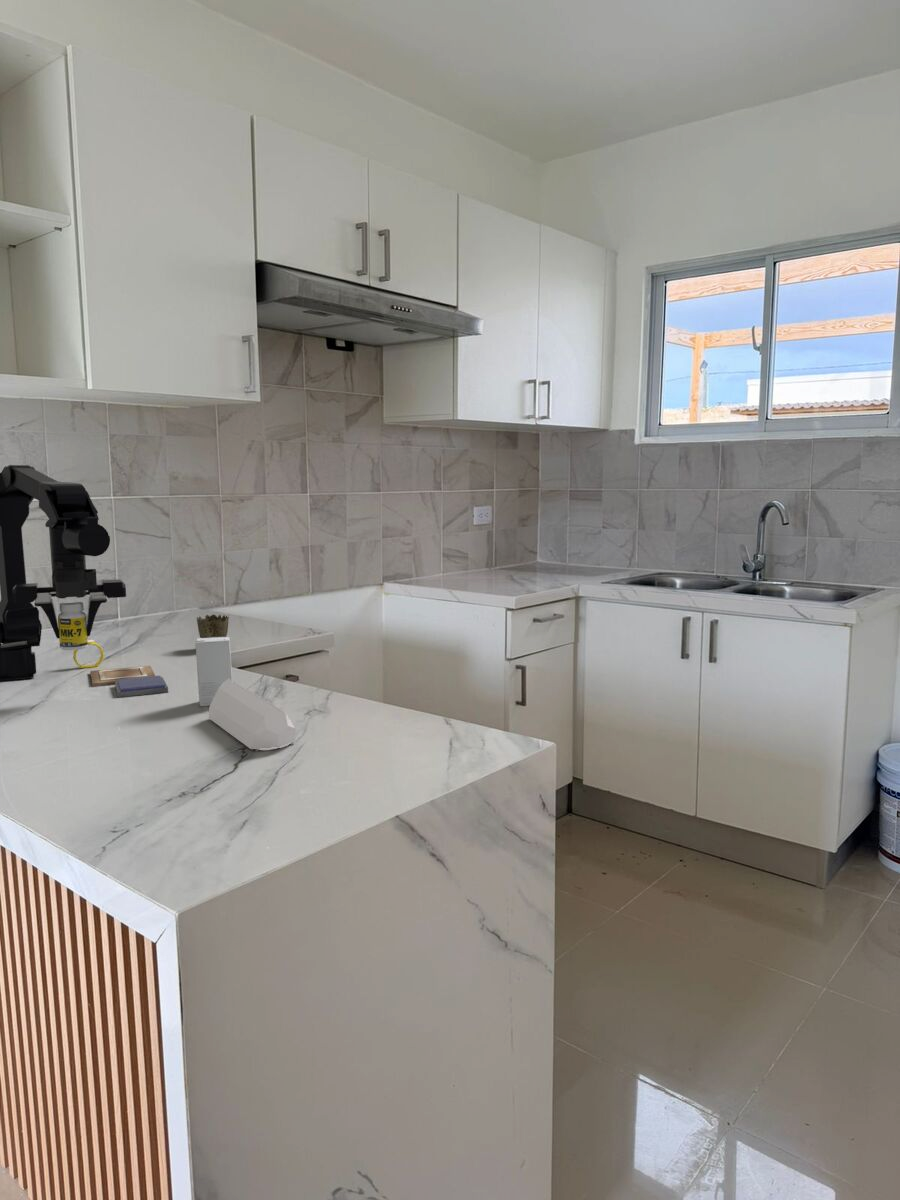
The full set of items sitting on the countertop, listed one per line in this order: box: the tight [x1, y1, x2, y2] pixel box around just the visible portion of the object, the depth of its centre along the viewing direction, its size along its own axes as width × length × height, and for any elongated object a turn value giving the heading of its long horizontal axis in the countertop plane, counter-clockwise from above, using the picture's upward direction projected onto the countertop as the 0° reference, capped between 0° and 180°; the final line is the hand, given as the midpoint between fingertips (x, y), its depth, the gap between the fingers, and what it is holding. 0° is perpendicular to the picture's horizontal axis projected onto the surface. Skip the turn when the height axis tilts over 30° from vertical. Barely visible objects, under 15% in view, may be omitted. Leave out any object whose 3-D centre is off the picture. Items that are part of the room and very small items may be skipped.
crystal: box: [208, 678, 297, 750], centre depth 136 cm, size 7×7×24 cm
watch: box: [72, 639, 105, 669], centre depth 182 cm, size 6×3×6 cm, turn 122°
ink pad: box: [114, 675, 169, 698], centre depth 163 cm, size 9×9×2 cm
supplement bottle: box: [57, 601, 89, 651], centre depth 154 cm, size 5×5×8 cm
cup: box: [196, 614, 230, 638], centre depth 201 cm, size 8×7×8 cm
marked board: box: [89, 665, 156, 687], centre depth 173 cm, size 12×12×1 cm
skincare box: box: [194, 636, 233, 707], centre depth 152 cm, size 6×4×12 cm
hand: (73, 637), depth 154 cm, fingers closed on supplement bottle, 5 cm apart
